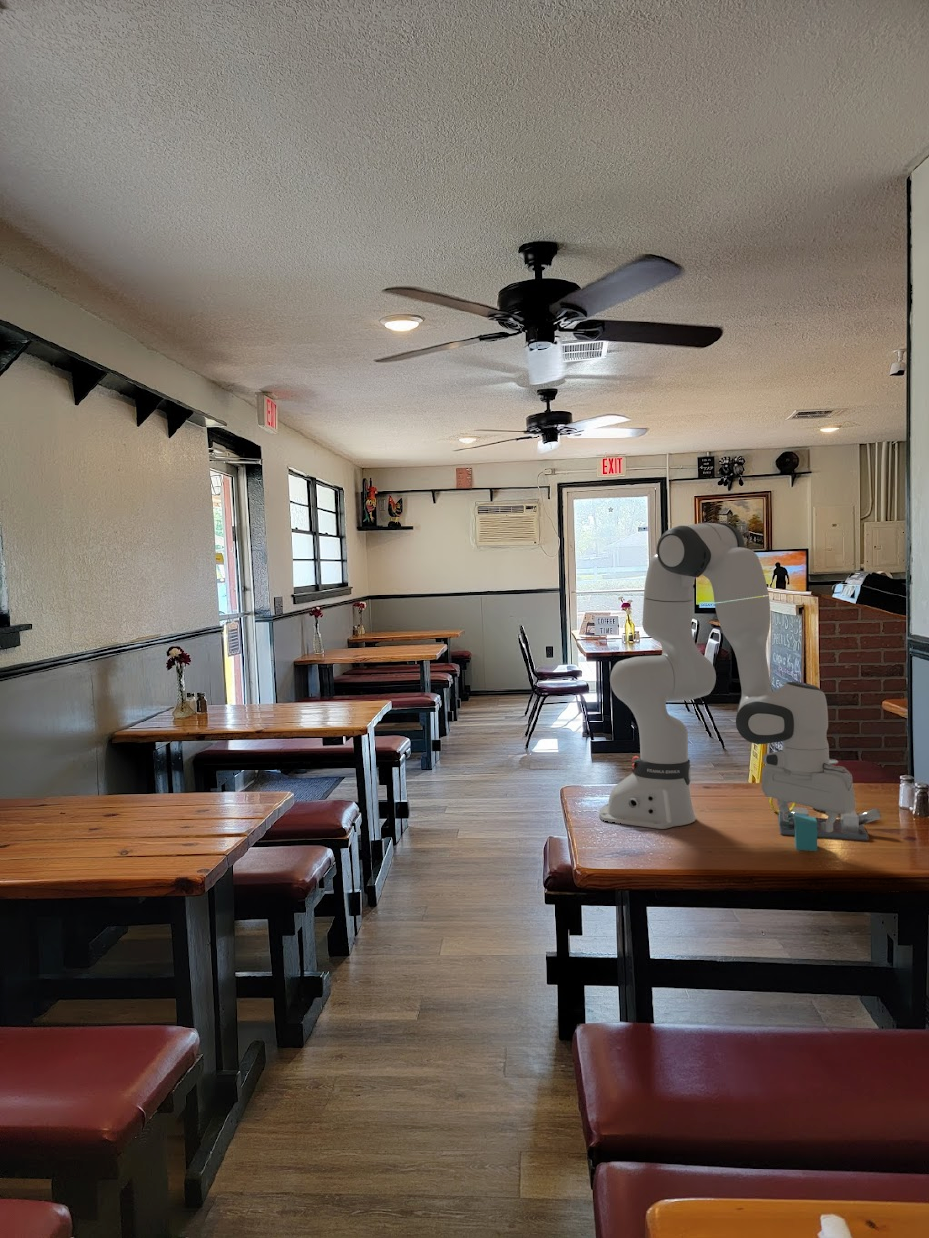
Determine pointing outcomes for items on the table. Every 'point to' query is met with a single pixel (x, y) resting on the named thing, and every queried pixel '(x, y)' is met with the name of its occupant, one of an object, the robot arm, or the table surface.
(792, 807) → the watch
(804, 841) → the block
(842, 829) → the shaft frame
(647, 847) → the table surface
